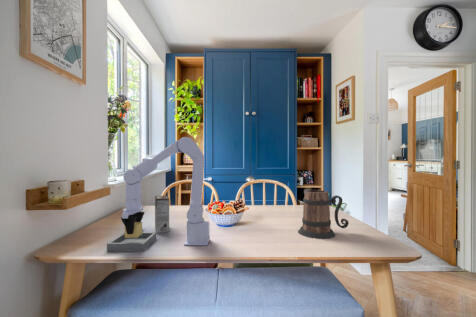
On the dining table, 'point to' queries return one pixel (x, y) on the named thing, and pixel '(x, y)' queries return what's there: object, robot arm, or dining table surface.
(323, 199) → the tankard
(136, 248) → the tray
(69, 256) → the dining table surface
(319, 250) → the dining table surface
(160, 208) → the coffee box
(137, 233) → the mustard block
